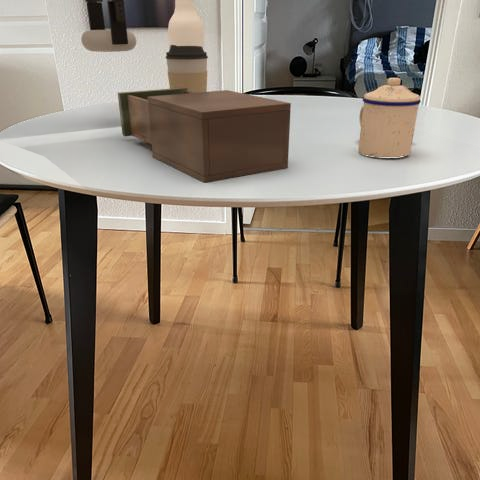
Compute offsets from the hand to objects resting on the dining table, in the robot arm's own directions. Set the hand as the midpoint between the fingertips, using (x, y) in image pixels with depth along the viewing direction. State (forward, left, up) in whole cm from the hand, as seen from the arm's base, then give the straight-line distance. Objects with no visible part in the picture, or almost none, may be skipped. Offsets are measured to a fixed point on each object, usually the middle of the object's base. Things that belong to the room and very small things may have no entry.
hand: (109, 43), depth 93 cm
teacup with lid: (+41, +31, -16) cm, 54 cm away
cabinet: (+32, +4, -16) cm, 36 cm away
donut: (0, 0, -1) cm, 1 cm away
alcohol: (-25, +29, -16) cm, 42 cm away
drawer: (+16, +4, -15) cm, 22 cm away
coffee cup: (-4, +18, -16) cm, 25 cm away
